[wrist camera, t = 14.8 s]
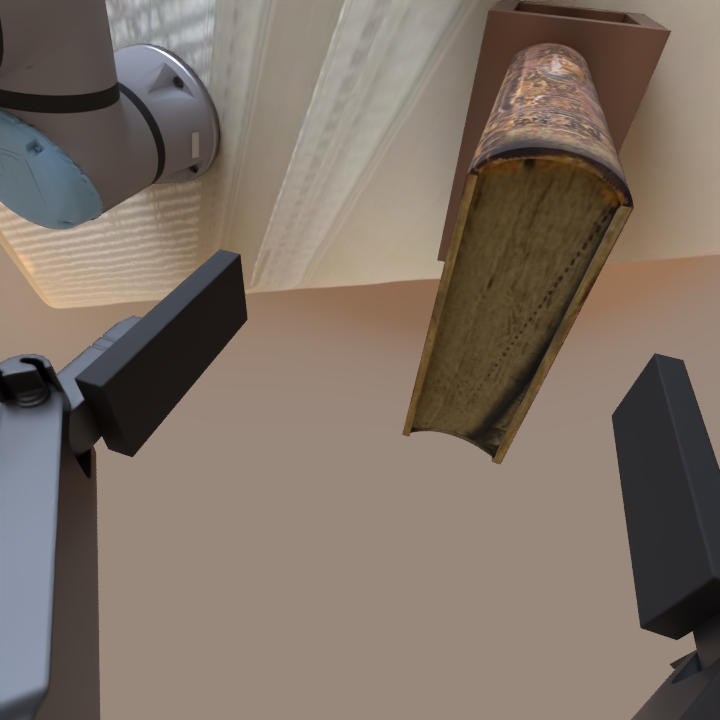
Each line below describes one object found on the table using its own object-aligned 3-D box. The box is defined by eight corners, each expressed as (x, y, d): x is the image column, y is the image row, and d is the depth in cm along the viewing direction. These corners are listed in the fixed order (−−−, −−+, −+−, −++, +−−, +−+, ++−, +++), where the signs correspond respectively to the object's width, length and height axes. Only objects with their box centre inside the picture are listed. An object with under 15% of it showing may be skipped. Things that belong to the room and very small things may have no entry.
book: (517, 37, 33) (476, 133, 15) (596, 49, 32) (654, 167, 14) (461, 244, 44) (400, 441, 26) (519, 257, 43) (496, 471, 25)
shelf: (455, 212, 54) (437, 260, 46) (502, -2, 41) (488, 9, 32) (559, 232, 52) (561, 287, 44) (645, 14, 39) (671, 30, 30)
